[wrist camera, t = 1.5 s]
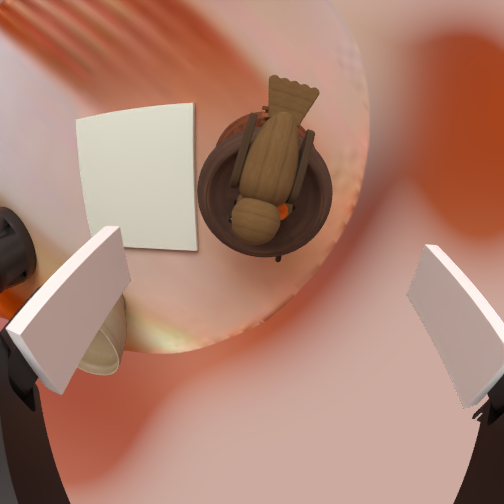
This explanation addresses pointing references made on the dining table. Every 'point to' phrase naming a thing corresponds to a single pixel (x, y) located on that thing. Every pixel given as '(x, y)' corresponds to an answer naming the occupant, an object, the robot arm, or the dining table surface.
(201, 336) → the dining table surface
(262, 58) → the dining table surface
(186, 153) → the board
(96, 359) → the planter bowl
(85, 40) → the dining table surface
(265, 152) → the music box
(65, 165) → the dining table surface
